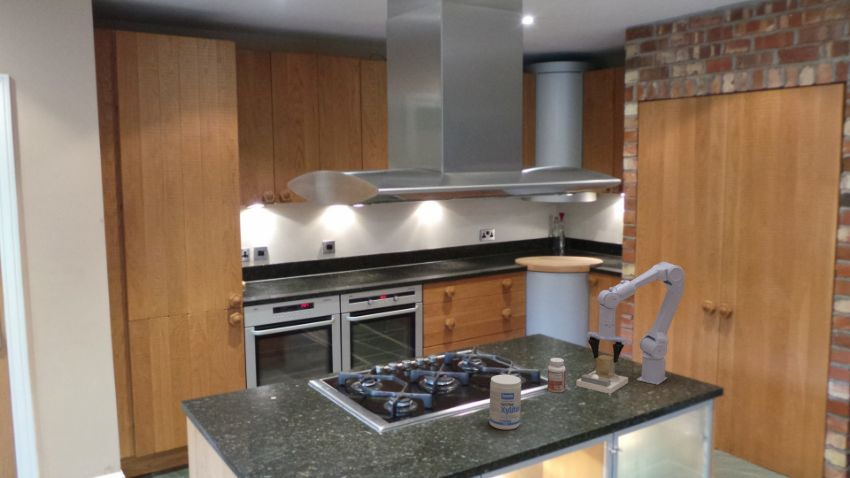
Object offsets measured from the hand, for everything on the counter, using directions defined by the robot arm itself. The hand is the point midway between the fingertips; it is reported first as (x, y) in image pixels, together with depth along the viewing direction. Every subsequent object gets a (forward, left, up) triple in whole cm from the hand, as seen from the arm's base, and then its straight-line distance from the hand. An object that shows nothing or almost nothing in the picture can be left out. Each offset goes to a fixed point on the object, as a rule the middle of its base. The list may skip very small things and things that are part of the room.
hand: (605, 360), depth 256 cm
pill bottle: (+18, -10, -9) cm, 22 cm away
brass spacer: (0, 0, -6) cm, 6 cm away
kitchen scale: (+2, 0, -9) cm, 9 cm away
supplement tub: (+56, -7, -9) cm, 57 cm away
